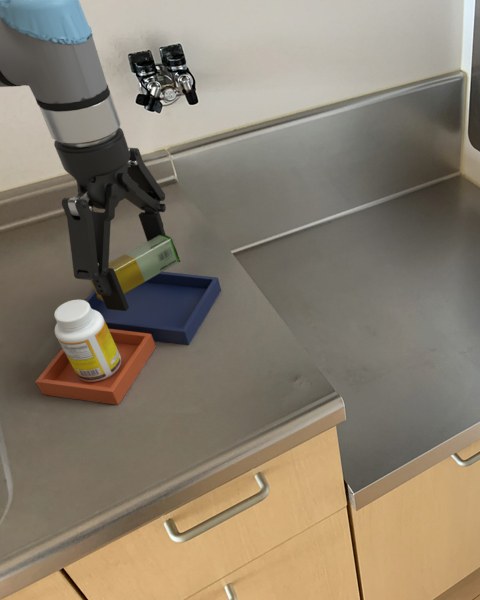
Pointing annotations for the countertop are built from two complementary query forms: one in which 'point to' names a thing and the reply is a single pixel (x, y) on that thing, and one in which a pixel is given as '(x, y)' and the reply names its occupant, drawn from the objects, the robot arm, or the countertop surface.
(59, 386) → the terracotta tray
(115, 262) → the medication box
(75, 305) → the supplement bottle
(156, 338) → the navy tray
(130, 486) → the countertop surface
